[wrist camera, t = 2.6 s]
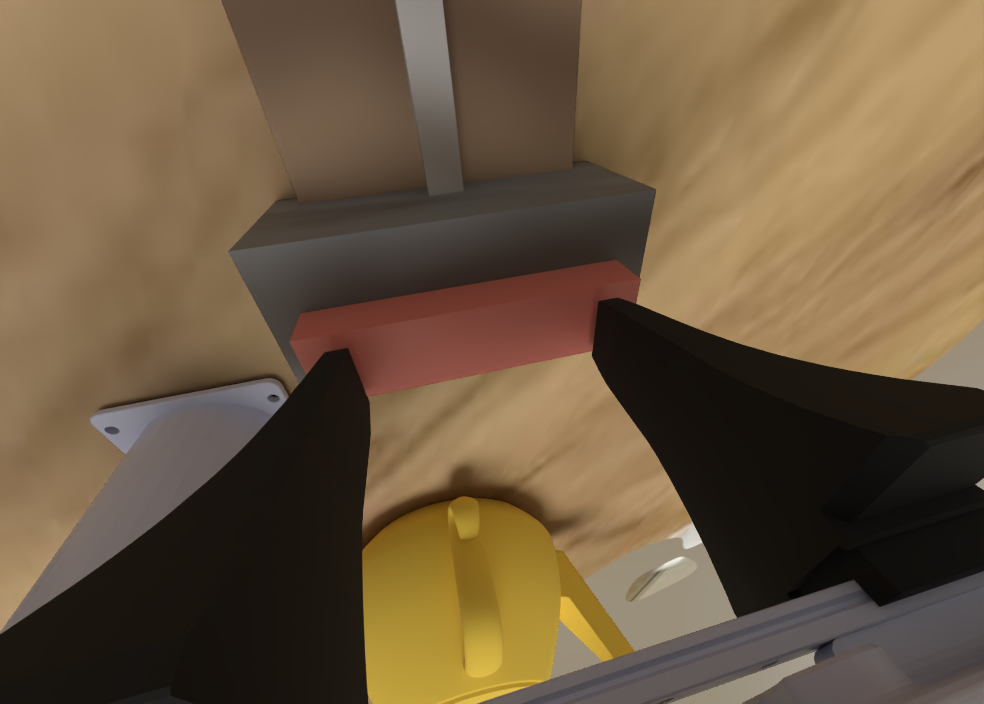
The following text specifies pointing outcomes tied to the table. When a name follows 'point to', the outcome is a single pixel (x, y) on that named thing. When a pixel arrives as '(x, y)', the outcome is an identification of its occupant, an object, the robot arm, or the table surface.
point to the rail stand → (422, 152)
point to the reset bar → (465, 326)
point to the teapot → (471, 605)
